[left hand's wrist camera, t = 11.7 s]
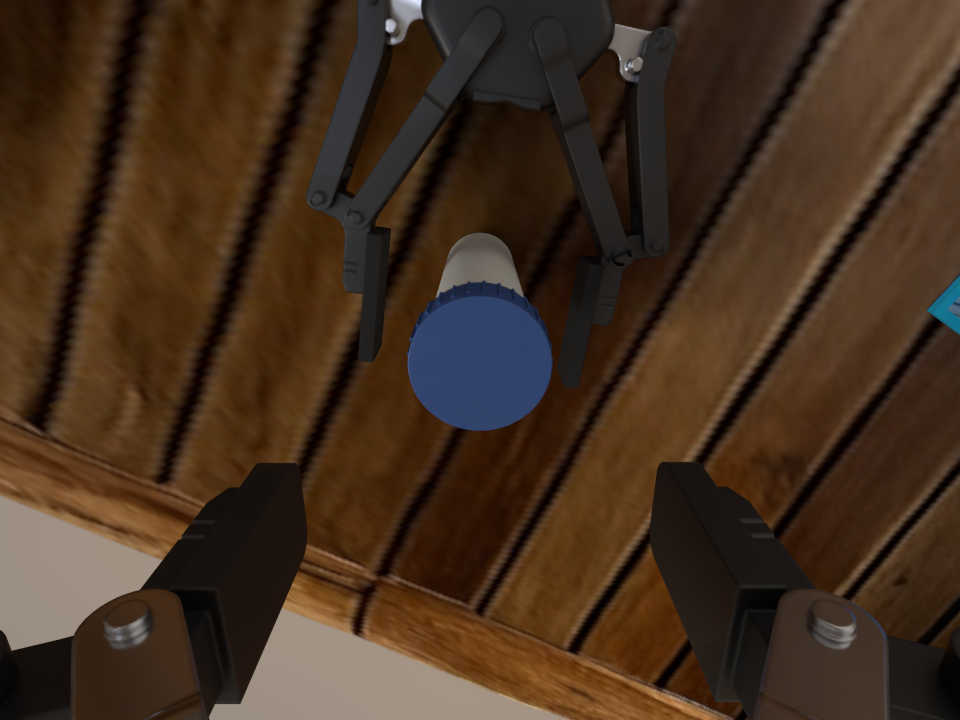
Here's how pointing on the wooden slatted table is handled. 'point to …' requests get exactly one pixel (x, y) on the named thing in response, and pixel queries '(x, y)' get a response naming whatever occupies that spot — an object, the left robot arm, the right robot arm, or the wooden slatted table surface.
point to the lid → (479, 356)
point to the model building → (948, 306)
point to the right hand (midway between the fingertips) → (469, 365)
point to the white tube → (480, 263)
